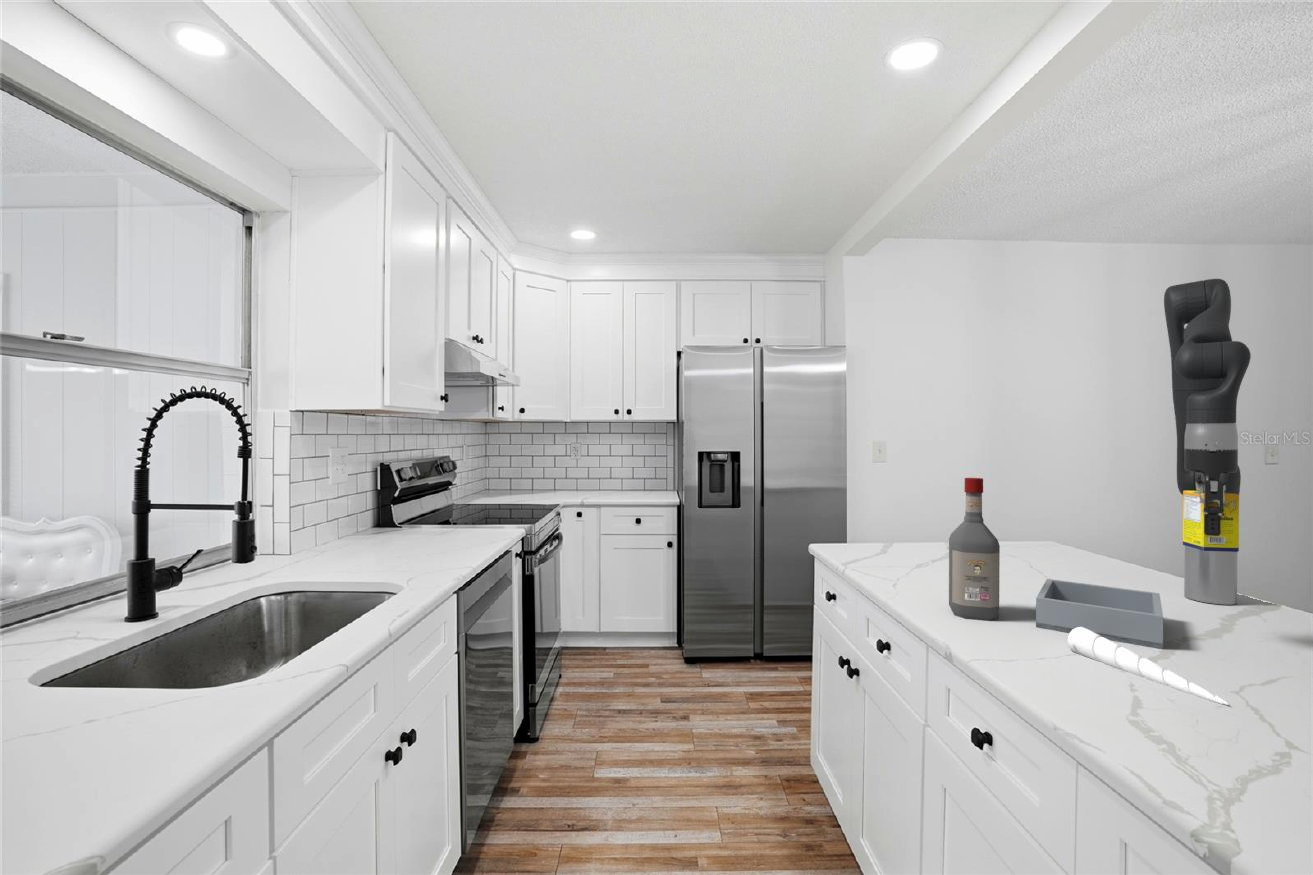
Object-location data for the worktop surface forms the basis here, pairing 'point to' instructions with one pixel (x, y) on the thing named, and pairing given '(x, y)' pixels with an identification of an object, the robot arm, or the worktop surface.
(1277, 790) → the worktop surface
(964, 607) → the liquor
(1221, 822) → the worktop surface
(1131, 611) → the bin
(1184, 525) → the supplement box
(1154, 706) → the worktop surface
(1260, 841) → the worktop surface
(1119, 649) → the unicorn horn
